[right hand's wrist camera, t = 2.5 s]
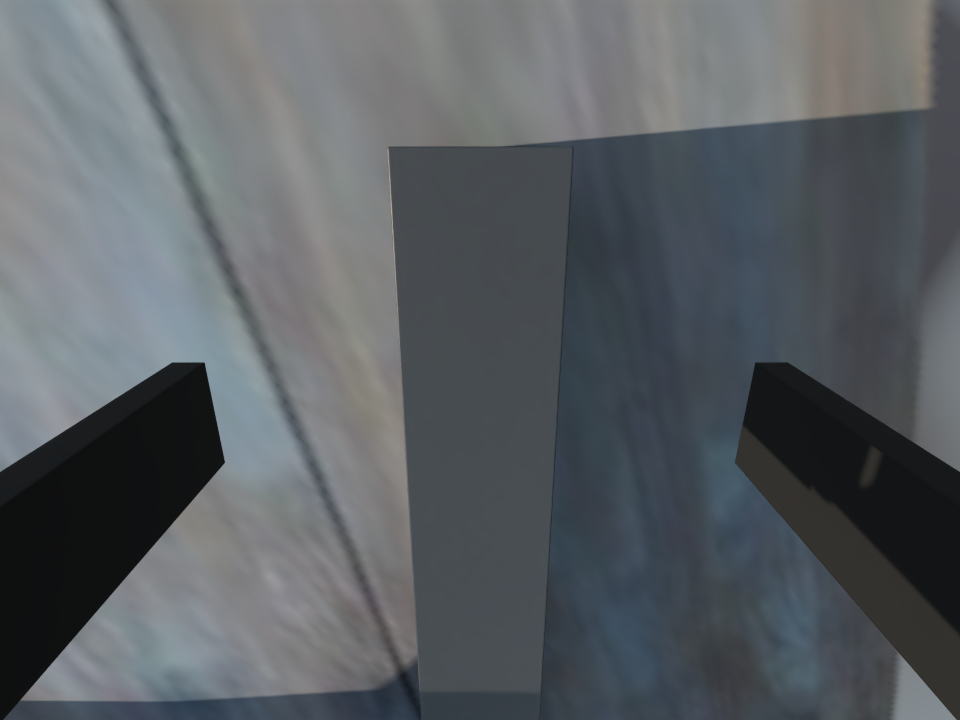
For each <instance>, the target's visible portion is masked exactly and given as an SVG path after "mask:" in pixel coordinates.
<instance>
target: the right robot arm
mask: <svg viewBox="0 0 960 720" xmlns="http://www.w3.org/2000/svg"><path fill="white" fill-rule="evenodd" d="M224 463H225V461H224V456H223V451H222V446H221V441H220V436H219V431H218V426H217V421H216V416H215V412H214V407H213V402H212V397H211V392H210V387H209V382H208V377H207V372H206V368H205V363H171V364H169V365H168V366H166V367H165V368H163V369H162V370H160V371H158V372H157V373H155V374H154V375H152V376H150V377H149V378H147V379H146V380H144V381H143V382H141V383H139V384H138V385H136V386H135V387H133V388H132V389H130V390H128V391H127V392H125V393H124V394H122V395H121V396H119V397H117V398H116V399H114V400H113V401H111V402H110V403H108V404H106V405H105V406H103V407H102V408H100V409H99V410H97V411H95V412H94V413H92V414H91V415H89V416H88V417H86V418H84V419H83V420H81V421H80V422H78V423H77V424H75V425H73V426H72V427H70V428H69V429H67V430H66V431H64V432H62V433H61V434H59V435H58V436H56V437H55V438H53V439H51V440H50V441H48V442H47V443H45V444H44V445H42V446H40V447H39V448H37V449H36V450H34V451H33V452H31V453H29V454H28V455H26V456H25V457H23V458H22V459H20V460H18V461H17V462H15V463H14V464H12V465H11V466H9V467H7V468H6V469H4V470H3V471H1V472H0V720H3V719H4V718H5V717H6V716H7V715H8V714H9V712H10V711H11V710H12V709H13V708H14V707H15V705H16V704H17V703H18V702H19V701H20V700H21V699H22V697H23V696H24V695H25V694H26V693H27V692H28V690H29V689H30V688H31V687H32V686H33V685H34V683H35V682H36V681H37V680H38V679H39V678H40V676H41V675H42V674H43V673H44V672H45V671H46V670H47V668H48V667H49V666H50V665H51V664H52V663H53V661H54V660H55V659H56V658H57V657H58V656H59V654H60V653H61V652H62V651H63V650H64V649H65V647H66V646H67V645H68V644H69V643H70V642H71V641H72V639H73V638H74V637H75V636H76V635H77V634H78V632H79V631H80V630H81V629H82V628H83V627H84V625H85V624H86V623H87V622H88V621H89V620H90V619H91V617H92V616H93V615H94V614H95V613H96V612H97V610H98V609H99V608H100V607H101V606H102V605H103V603H104V602H105V601H106V600H107V599H108V598H109V596H110V595H111V594H112V593H113V592H114V591H115V590H116V588H117V587H118V586H119V585H120V584H121V583H122V581H123V580H124V579H125V578H126V577H127V576H128V574H129V573H130V572H131V571H132V570H133V569H134V567H135V566H136V565H137V564H138V563H139V562H140V561H141V559H142V558H143V557H144V556H145V555H146V554H147V552H148V551H149V550H150V549H151V548H152V547H153V545H154V544H155V543H156V542H157V541H158V540H159V539H160V537H161V536H162V535H163V534H164V533H165V532H166V530H167V529H168V528H169V527H170V526H171V525H172V523H173V522H174V521H175V520H176V519H177V518H178V516H179V515H180V514H181V513H182V512H183V511H184V510H185V508H186V507H187V506H188V505H189V504H190V503H191V501H192V500H193V499H194V498H195V497H196V496H197V494H198V493H199V492H200V491H201V490H202V489H203V487H204V486H205V485H206V484H207V483H208V482H209V481H210V479H211V478H212V477H213V476H214V475H215V474H216V472H217V471H218V470H219V469H220V468H221V467H222V465H223V464H224ZM735 463H736V464H737V465H738V467H739V468H740V469H741V470H742V471H743V472H744V474H745V475H746V476H747V477H748V478H749V479H750V481H751V482H752V483H753V484H754V485H755V486H756V487H757V489H758V490H759V491H760V492H761V493H762V494H763V496H764V497H765V498H766V499H767V500H768V501H769V503H770V504H771V505H772V506H773V507H774V508H775V510H776V511H777V512H778V513H779V514H780V515H781V516H782V518H783V519H784V520H785V521H786V522H787V523H788V525H789V526H790V527H791V528H792V529H793V530H794V532H795V533H796V534H797V535H798V536H799V537H800V539H801V540H802V541H803V542H804V543H805V544H806V545H807V547H808V548H809V549H810V550H811V551H812V552H813V554H814V555H815V556H816V557H817V558H818V559H819V561H820V562H821V563H822V564H823V565H824V566H825V567H826V569H827V570H828V571H829V572H830V573H831V574H832V576H833V577H834V578H835V579H836V580H837V581H838V583H839V584H840V585H841V586H842V587H843V588H844V590H845V591H846V592H847V593H848V594H849V595H850V596H851V598H852V599H853V600H854V601H855V602H856V603H857V605H858V606H859V607H860V608H861V609H862V610H863V612H864V613H865V614H866V615H867V616H868V617H869V619H870V620H871V621H872V622H873V623H874V624H875V625H876V627H877V628H878V629H879V630H880V631H881V632H882V634H883V635H884V636H885V637H886V638H887V639H888V641H889V642H890V643H891V644H892V645H893V646H894V647H895V649H896V650H897V651H898V652H899V653H900V654H901V656H902V657H903V658H904V659H905V660H906V661H907V663H908V664H909V665H910V666H911V667H912V668H913V670H914V671H915V672H916V673H917V674H918V675H919V676H920V678H921V679H922V680H923V681H924V682H925V683H926V685H927V686H928V687H929V688H930V689H931V690H932V692H933V693H934V694H935V695H936V696H937V697H938V698H939V700H940V701H941V702H942V703H943V704H944V705H945V707H946V708H947V709H948V710H949V711H950V712H951V714H952V715H953V716H954V717H955V718H956V719H957V720H960V472H959V471H957V470H956V469H954V468H953V467H951V466H949V465H948V464H946V463H945V462H943V461H942V460H940V459H938V458H937V457H935V456H934V455H932V454H931V453H929V452H927V451H926V450H924V449H923V448H921V447H920V446H918V445H916V444H915V443H913V442H912V441H910V440H909V439H907V438H905V437H904V436H902V435H901V434H899V433H898V432H896V431H894V430H893V429H891V428H890V427H888V426H887V425H885V424H883V423H882V422H880V421H879V420H877V419H876V418H874V417H872V416H871V415H869V414H868V413H866V412H865V411H863V410H861V409H860V408H858V407H857V406H855V405H854V404H852V403H850V402H849V401H847V400H846V399H844V398H843V397H841V396H839V395H838V394H836V393H835V392H833V391H832V390H830V389H828V388H827V387H825V386H824V385H822V384H821V383H819V382H817V381H816V380H814V379H813V378H811V377H810V376H808V375H806V374H805V373H803V372H802V371H800V370H798V369H797V368H795V367H794V366H792V365H791V364H789V363H755V368H754V372H753V377H752V382H751V387H750V392H749V397H748V402H747V407H746V412H745V416H744V421H743V426H742V431H741V436H740V441H739V446H738V451H737V456H736V461H735Z"/></svg>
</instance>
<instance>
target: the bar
mask: <svg viewBox="0 0 960 720" xmlns="http://www.w3.org/2000/svg"><path fill="white" fill-rule="evenodd" d="M573 151H574V148H573V147H388V148H387V152H388V168H389V185H390V202H391V219H392V236H393V252H394V269H395V286H396V303H397V319H398V336H399V353H400V370H401V387H402V403H403V420H404V437H405V454H406V471H407V487H408V504H409V521H410V538H411V555H412V571H413V588H414V605H415V622H416V639H417V655H418V672H419V689H420V706H421V720H540V704H541V687H542V670H543V654H544V637H545V620H546V603H547V587H548V570H549V553H550V536H551V520H552V503H553V486H554V469H555V453H556V436H557V419H558V402H559V385H560V369H561V352H562V335H563V318H564V302H565V285H566V268H567V251H568V235H569V218H570V201H571V184H572V168H573Z"/></svg>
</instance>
